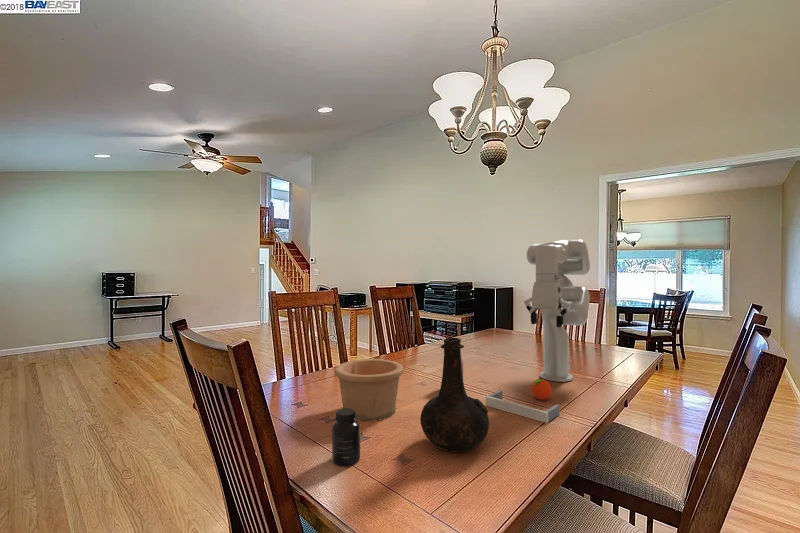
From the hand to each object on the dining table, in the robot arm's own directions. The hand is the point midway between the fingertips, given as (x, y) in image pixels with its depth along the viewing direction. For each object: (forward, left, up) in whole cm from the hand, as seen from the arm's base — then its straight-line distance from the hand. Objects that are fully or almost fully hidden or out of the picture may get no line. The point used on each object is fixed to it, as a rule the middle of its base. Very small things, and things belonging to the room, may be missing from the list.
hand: (546, 325), depth 147 cm
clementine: (+9, +2, -25) cm, 26 cm away
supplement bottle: (+82, -13, -25) cm, 87 cm away
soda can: (+20, -27, -25) cm, 42 cm away
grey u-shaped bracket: (+22, +2, -24) cm, 33 cm away
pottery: (+57, -33, -25) cm, 70 cm away
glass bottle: (+57, +1, -25) cm, 62 cm away
